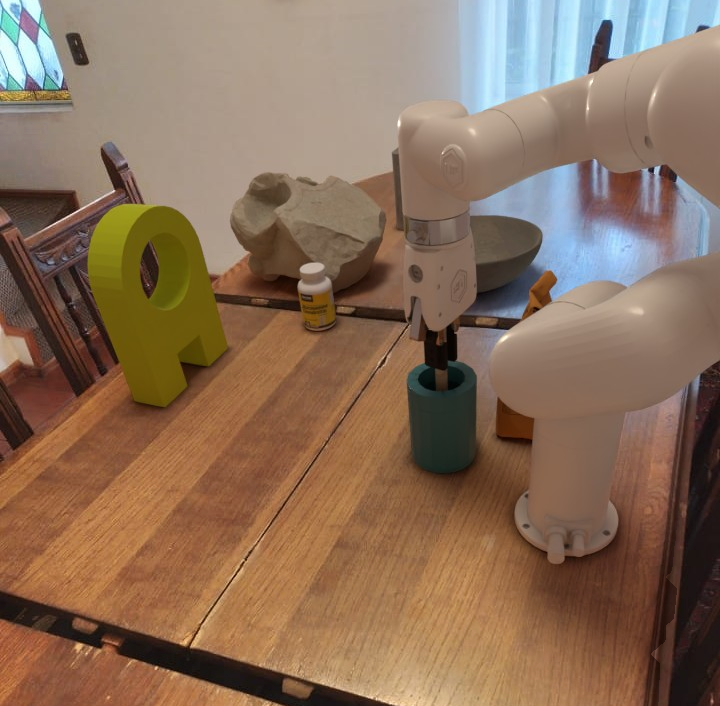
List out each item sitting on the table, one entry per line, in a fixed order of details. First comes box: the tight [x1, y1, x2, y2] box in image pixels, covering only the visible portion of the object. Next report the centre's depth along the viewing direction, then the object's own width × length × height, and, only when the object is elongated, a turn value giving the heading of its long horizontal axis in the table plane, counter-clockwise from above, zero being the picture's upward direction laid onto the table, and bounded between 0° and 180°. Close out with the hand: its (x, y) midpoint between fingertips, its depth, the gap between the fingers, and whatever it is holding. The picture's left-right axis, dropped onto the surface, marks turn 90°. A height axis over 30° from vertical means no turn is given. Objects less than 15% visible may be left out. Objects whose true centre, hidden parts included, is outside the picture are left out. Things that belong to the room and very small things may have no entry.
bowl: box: [470, 214, 544, 294], centre depth 136 cm, size 26×26×10 cm
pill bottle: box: [297, 263, 337, 332], centre depth 129 cm, size 6×6×12 cm
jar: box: [406, 360, 478, 474], centre depth 95 cm, size 9×9×13 cm
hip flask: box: [391, 146, 404, 231], centre depth 163 cm, size 16×4×20 cm, turn 164°
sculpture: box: [229, 171, 387, 294], centre depth 144 cm, size 26×27×30 cm
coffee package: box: [495, 270, 558, 441], centre depth 95 cm, size 10×12×22 cm
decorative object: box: [87, 203, 229, 408], centre depth 114 cm, size 20×7×30 cm, turn 155°
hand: (441, 362), depth 89 cm, fingers closed
